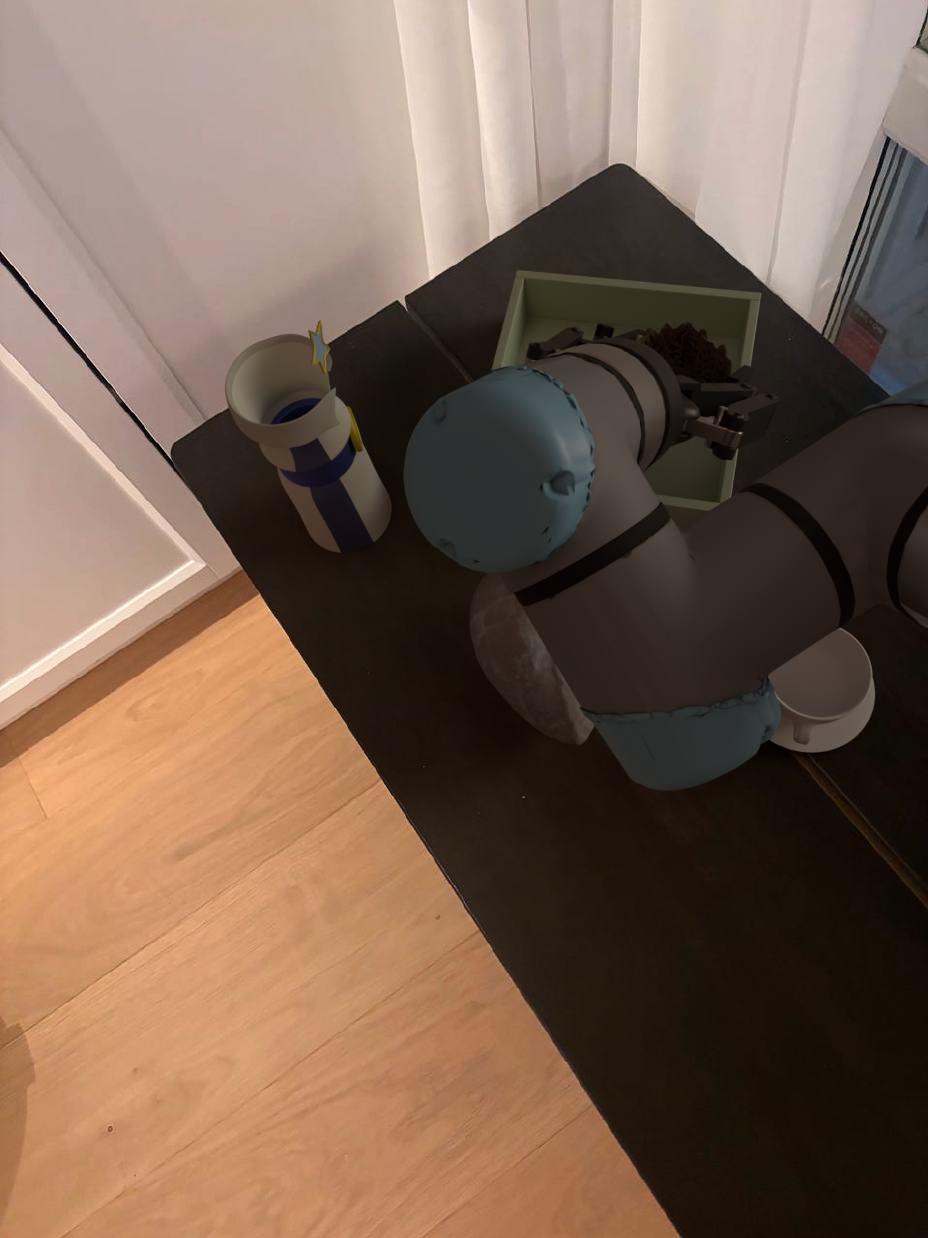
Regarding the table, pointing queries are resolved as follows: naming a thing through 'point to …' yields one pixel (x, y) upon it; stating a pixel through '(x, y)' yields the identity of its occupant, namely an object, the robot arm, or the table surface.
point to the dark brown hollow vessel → (689, 353)
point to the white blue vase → (309, 438)
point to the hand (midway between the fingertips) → (688, 366)
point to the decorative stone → (523, 664)
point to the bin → (728, 316)
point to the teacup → (824, 694)
